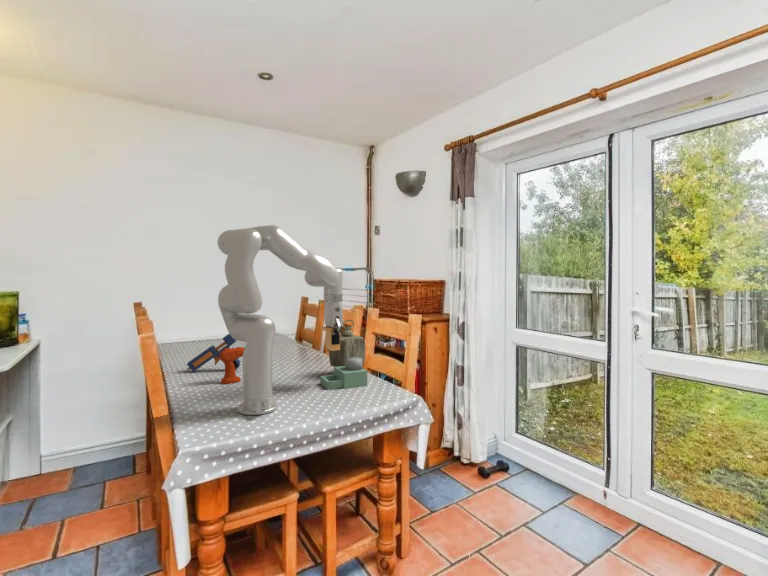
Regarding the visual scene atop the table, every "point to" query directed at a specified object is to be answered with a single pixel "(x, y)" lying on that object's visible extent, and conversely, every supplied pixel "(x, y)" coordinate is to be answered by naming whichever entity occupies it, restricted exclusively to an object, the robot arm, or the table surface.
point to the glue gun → (211, 354)
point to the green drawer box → (346, 375)
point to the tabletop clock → (348, 348)
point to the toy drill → (231, 364)
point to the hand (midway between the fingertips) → (332, 342)
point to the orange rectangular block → (330, 339)
